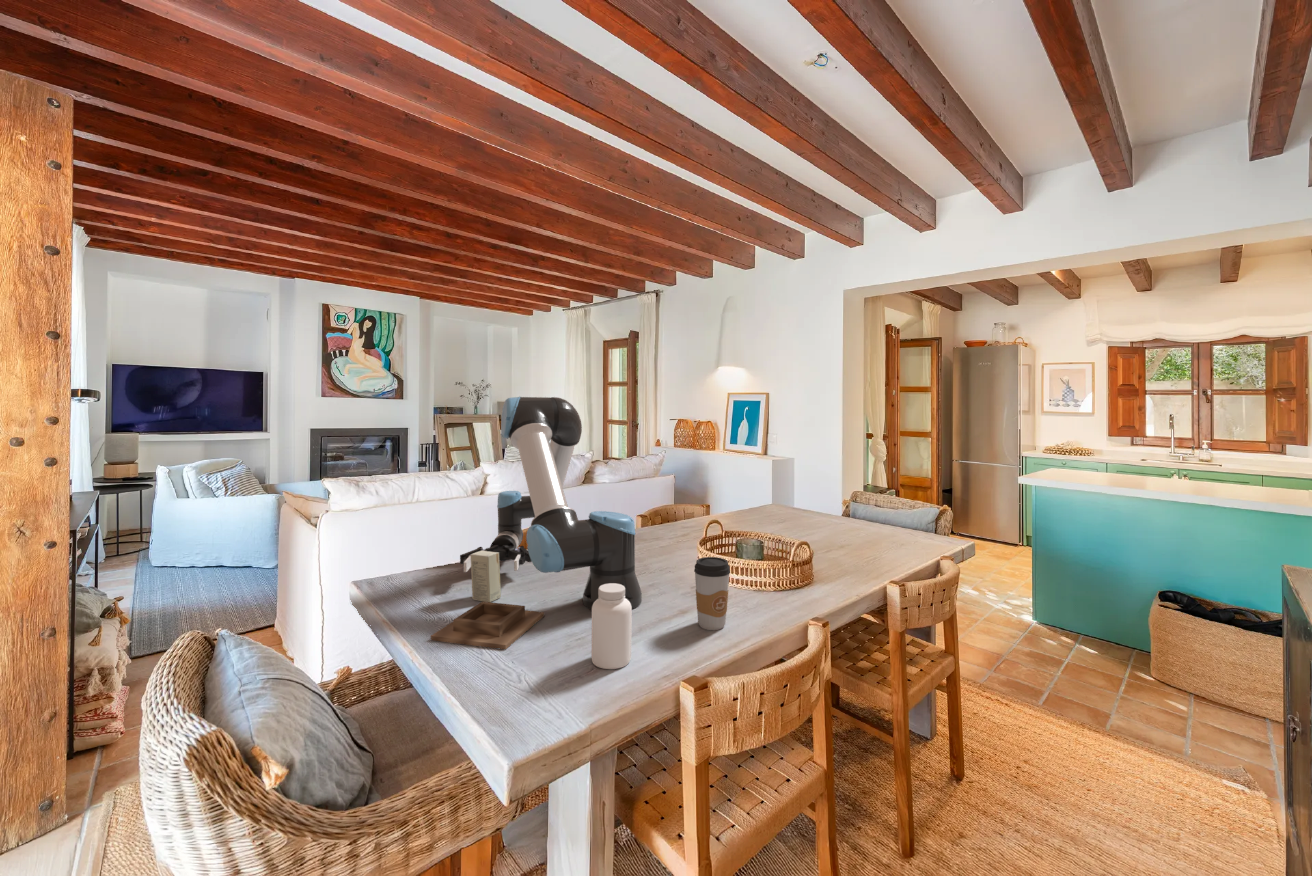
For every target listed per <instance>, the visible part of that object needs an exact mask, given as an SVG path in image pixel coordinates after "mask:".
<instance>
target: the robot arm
mask: <svg viewBox="0 0 1312 876" xmlns="http://www.w3.org/2000/svg"><path fill="white" fill-rule="evenodd" d="M500 421H501V422H500V432H501V437H502V438H504V439H507V440H508V439H509V440H510V443H511V445H512V447H514V448H515V449H516V450H518V453H519V456H520V460H521V466H522V469H523V472H524V477H525V480H526V481H525V482H526V486H527V490H528V494H529V495H523V496H522V494H521V491H519V490H505V491H501V492H499V493H498V495H497V506H496V507H497V522H498V523H497V536H496V537H495V538H494V539H493V541H492V542H491V543H490V546H489V547H486V548H484V549H483V547H482V546H479V547H477V548H475V549H473V550H471V551H467V552H465V553H462V554H460V555H459V564H460V565H462V566H463V573H467V572H468V571H469V570H471V554H473V553H476V552H479V551H490V552H499V562H505V561H509V560H513V562H514V563H513V565H514V566H513V568H514V571H515V572H517V571H518V569H519V567H520V566H521V565H524V564H525V563H526V562H527V563H532V565H533V566H534V567H535V569H536V570H537V571H538V572H540V573H542V574H544V573H545V574H547V573H561V572H565V571H571V570H576V569H581V568H588V567H589V575H588V577H587V579H586V580H587V581H586V584H585V587H584V591H583V593H582V598H583V599H582V601H583V602H582V603H583V604H582V605H583V606H584V607H585V608H587V609H589V610H591V611H592V606H593V603H594V602H595V601H596V600H597V599H599V595H598V589H599V587H600V586H601V585H604V584H609V583H616V584H621V585H623V586H624V587H625V598H626V599H627V600H628V601H629V602H630V604H631V607H632V610H634V609H635V608H637V607H639V606H640V605H641V604H642V598H643V597H642V596H643V595H642V590H641V586H640V583H639V581H638V577H637V575H636V566H635V565H636V527H635V525H636V524H635V521H634V519H633V517H632V516H631V515H628V514H625V513H623V512H622V513H620V512H616V511H606V510H605V511H604V510H596V511H591V512H590V513H589V514H588V519H580V520H579V519H578V518H579V517H578V516H577V515H578V514H577V512H576V511H575V509H573V508H572V507H569V506H568V502H567V499H566V496H565V493H564V484H565V480H566V479H567V474H568V471H569V466H570V464H571V463H570V462H571V460H572V457H573V453H574V449H575V446H577V445H578V444H579V443H580V440H581V437H582V432H583V431H582V429H583V426H582V420H581V417H580V414H579V412H578V410H577V409H576V408H575V406H574V405H572V403H571V402H569V401H568V400H566V399H564V398H561V397H555V396H554V397H546V396H545V397H542V396H538V397H537V396H535V397H532V396H531V397H530V396H529V397H528V396H517V397H516V396H515V397H507V398H506V399H505V401H504V402H503V406H502V410H501V420H500ZM524 519H532V520H531V521H530V526H529V527H528V529H527V530H526V544H527V545H526V546H527V548H525V546H523V545H521V544H522V541H523V539H524V538H523V537H524V532H523V529H522V520H524Z"/></svg>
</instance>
